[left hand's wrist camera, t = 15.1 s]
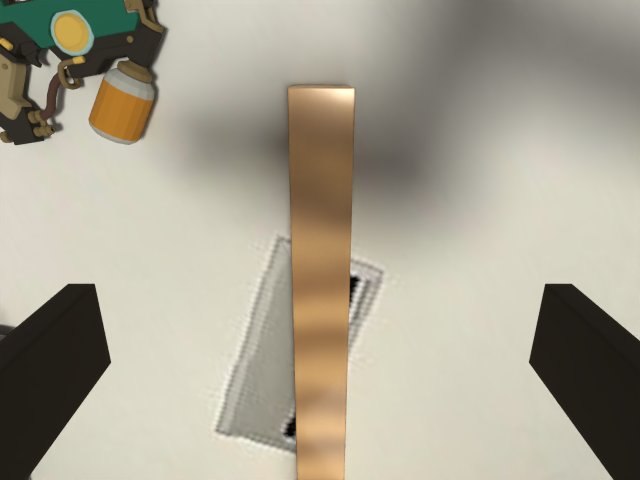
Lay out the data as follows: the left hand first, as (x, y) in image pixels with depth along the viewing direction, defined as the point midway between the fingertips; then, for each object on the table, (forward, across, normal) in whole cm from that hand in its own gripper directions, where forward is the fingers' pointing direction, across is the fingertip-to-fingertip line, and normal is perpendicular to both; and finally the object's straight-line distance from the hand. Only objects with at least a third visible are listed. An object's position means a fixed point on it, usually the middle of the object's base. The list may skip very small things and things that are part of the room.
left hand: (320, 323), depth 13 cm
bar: (+30, 0, -23) cm, 38 cm away
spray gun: (+30, -22, +8) cm, 38 cm away
